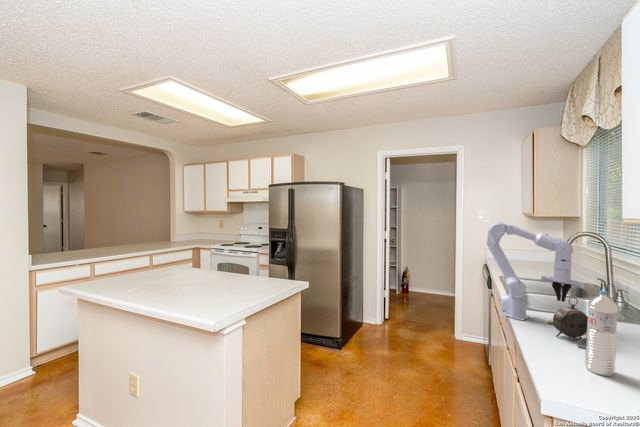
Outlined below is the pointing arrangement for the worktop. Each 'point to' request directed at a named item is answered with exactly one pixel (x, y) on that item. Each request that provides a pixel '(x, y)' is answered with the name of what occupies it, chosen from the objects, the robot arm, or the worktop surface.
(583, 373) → the worktop surface
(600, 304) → the water bottle
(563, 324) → the alarm clock
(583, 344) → the mat
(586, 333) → the turner
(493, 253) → the robot arm
